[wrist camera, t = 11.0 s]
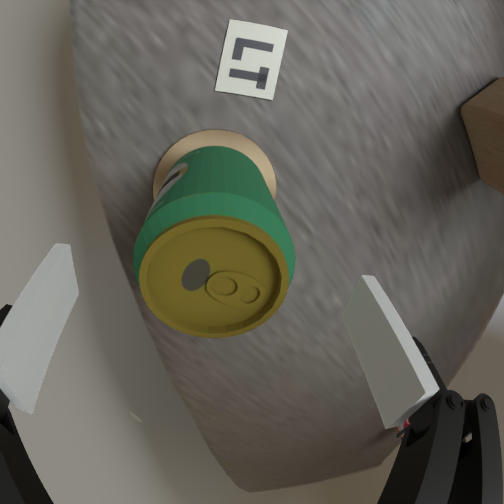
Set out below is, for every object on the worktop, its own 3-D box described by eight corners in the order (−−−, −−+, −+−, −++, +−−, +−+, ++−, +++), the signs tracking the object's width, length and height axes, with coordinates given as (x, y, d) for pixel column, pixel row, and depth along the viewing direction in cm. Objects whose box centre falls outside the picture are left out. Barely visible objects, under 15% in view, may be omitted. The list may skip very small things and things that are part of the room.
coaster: (160, 123, 20) (158, 124, 20) (286, 140, 22) (288, 141, 22) (151, 236, 25) (150, 239, 25) (261, 247, 27) (262, 251, 27)
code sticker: (229, 19, 16) (229, 19, 16) (287, 30, 17) (287, 30, 17) (214, 90, 19) (215, 90, 19) (272, 100, 20) (272, 100, 20)
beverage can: (190, 126, 20) (160, 172, 10) (282, 170, 23) (335, 250, 13) (151, 214, 24) (111, 316, 13) (236, 248, 26) (249, 358, 16)
